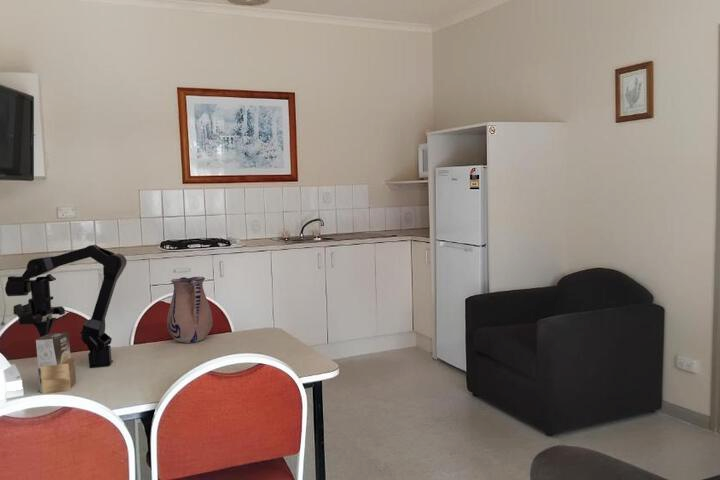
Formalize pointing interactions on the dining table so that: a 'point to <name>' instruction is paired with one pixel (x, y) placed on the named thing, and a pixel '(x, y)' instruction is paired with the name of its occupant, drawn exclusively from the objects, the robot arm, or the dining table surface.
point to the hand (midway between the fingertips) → (44, 340)
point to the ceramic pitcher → (189, 311)
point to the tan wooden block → (58, 377)
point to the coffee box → (52, 351)
